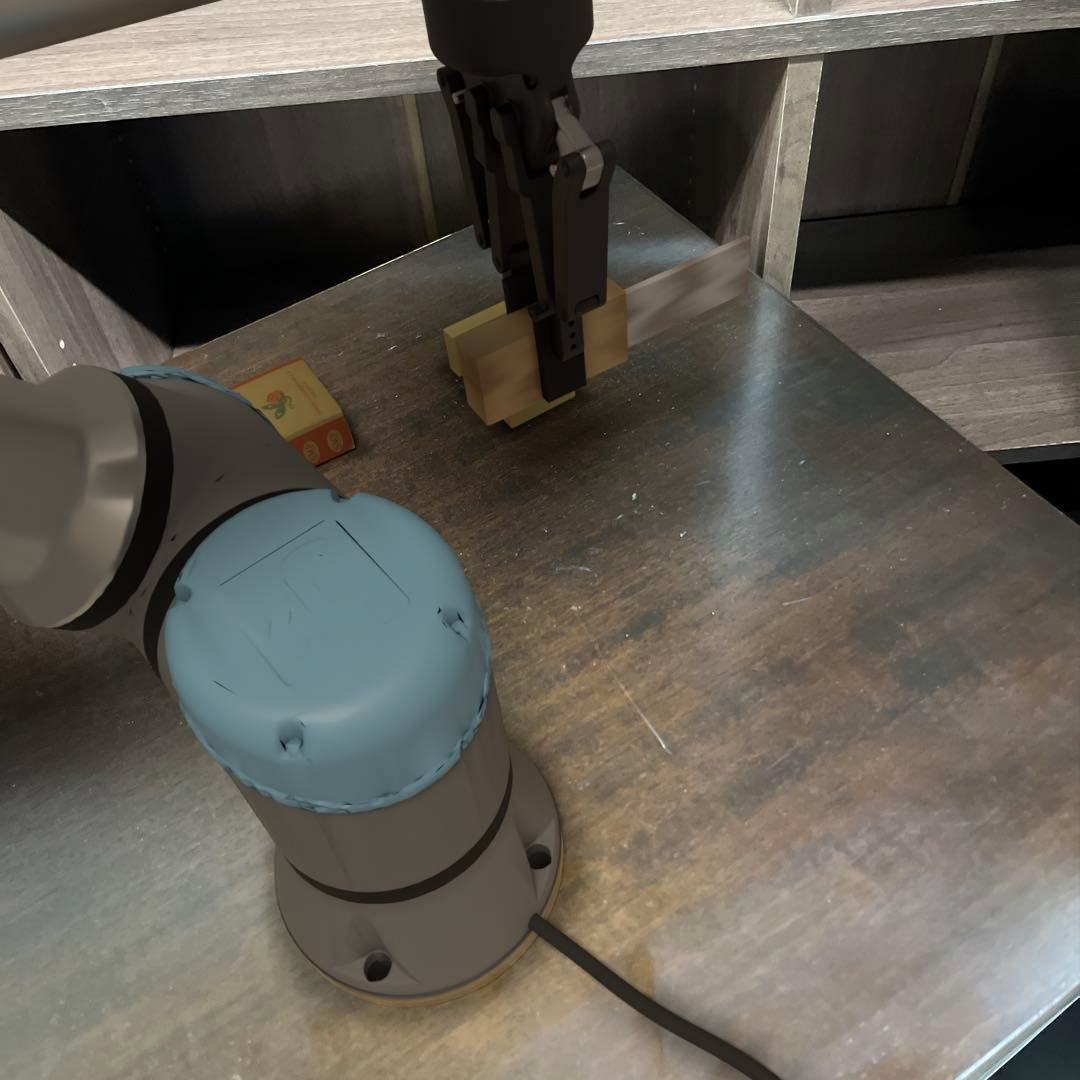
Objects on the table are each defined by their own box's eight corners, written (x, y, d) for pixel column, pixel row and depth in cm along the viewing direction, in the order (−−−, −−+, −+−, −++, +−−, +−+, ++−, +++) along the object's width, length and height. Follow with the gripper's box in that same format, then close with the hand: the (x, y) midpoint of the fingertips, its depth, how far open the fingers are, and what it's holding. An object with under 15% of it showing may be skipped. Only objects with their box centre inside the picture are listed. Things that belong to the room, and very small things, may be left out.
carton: (357, 451, 76) (344, 409, 73) (157, 544, 71) (133, 503, 68) (315, 393, 81) (301, 352, 78) (125, 477, 76) (101, 436, 73)
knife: (487, 427, 58) (475, 359, 54) (467, 404, 59) (454, 337, 56) (757, 299, 64) (763, 230, 60) (732, 281, 65) (737, 212, 61)
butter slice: (520, 347, 83) (515, 307, 80) (459, 377, 81) (451, 337, 78) (510, 339, 83) (505, 299, 80) (450, 368, 82) (442, 328, 79)
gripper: (683, -26, 39) (677, 420, 56) (489, -114, 48) (536, 293, 66) (518, 32, 36) (566, 477, 54) (348, -71, 46) (437, 337, 63)
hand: (550, 376), depth 60 cm, fingers closed on knife, 2 cm apart
